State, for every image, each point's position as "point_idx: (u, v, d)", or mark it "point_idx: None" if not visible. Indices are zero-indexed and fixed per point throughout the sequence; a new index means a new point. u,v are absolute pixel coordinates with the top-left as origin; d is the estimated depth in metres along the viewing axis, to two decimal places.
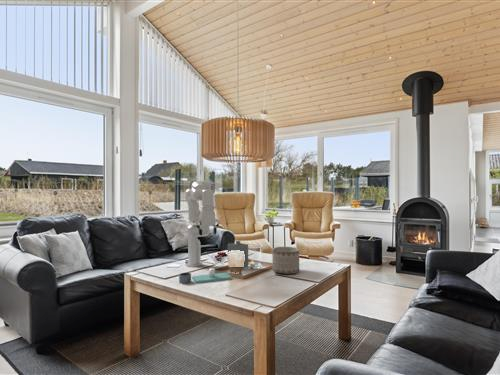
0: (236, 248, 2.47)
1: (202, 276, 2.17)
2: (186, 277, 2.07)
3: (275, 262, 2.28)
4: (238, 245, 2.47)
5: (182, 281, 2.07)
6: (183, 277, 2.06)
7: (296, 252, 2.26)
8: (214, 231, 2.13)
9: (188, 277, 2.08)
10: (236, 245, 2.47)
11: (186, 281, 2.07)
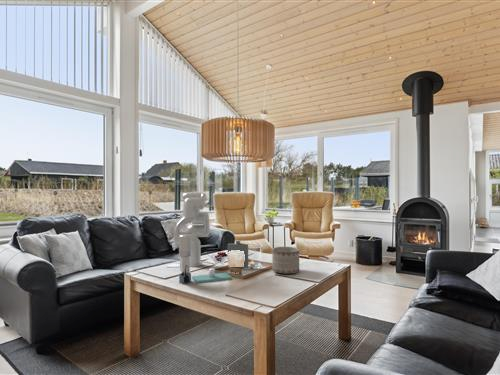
0: (236, 248, 2.47)
1: (202, 276, 2.17)
2: None
3: (275, 262, 2.28)
4: (238, 245, 2.47)
5: (182, 281, 2.07)
6: (183, 277, 2.06)
7: (296, 252, 2.26)
8: None
9: None
10: (236, 245, 2.47)
11: None
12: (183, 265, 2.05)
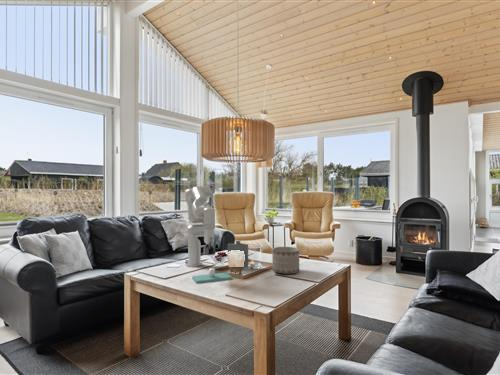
0: (236, 248, 2.47)
1: (202, 276, 2.17)
2: None
3: (275, 262, 2.28)
4: (238, 245, 2.47)
5: (207, 253, 2.12)
6: (208, 249, 2.12)
7: (296, 252, 2.26)
8: None
9: None
10: (236, 245, 2.47)
11: None
12: (208, 237, 2.11)
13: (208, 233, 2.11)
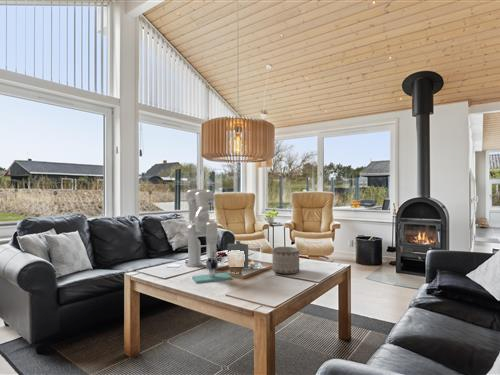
0: (236, 248, 2.47)
1: (202, 276, 2.17)
2: None
3: (275, 262, 2.28)
4: (238, 245, 2.47)
5: (209, 267, 2.13)
6: (210, 263, 2.13)
7: (296, 252, 2.26)
8: None
9: None
10: (236, 245, 2.47)
11: None
12: (211, 251, 2.11)
13: (211, 247, 2.12)
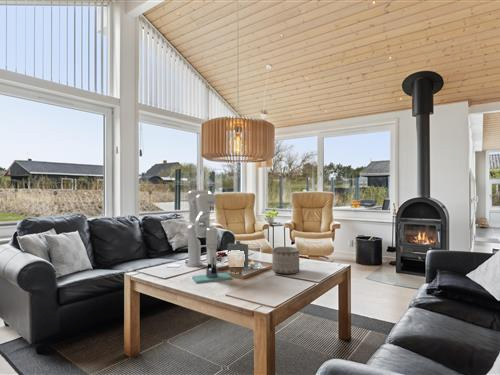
0: (236, 248, 2.47)
1: (202, 276, 2.17)
2: None
3: (275, 262, 2.28)
4: (238, 245, 2.47)
5: (209, 276, 2.13)
6: (210, 272, 2.13)
7: (296, 252, 2.26)
8: (210, 267, 2.21)
9: None
10: (236, 245, 2.47)
11: (213, 276, 2.13)
12: (211, 257, 2.11)
13: (211, 253, 2.12)
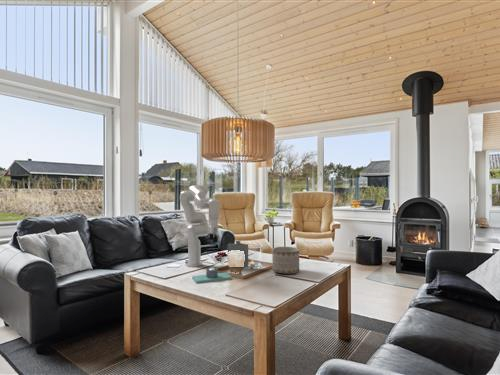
0: (236, 248, 2.47)
1: (202, 276, 2.17)
2: (213, 272, 2.13)
3: (275, 262, 2.28)
4: (238, 245, 2.47)
5: (209, 276, 2.13)
6: (210, 272, 2.13)
7: (296, 252, 2.26)
8: (212, 237, 2.32)
9: (215, 272, 2.14)
10: (236, 245, 2.47)
11: (213, 276, 2.13)
12: (212, 227, 2.22)
13: (212, 223, 2.22)
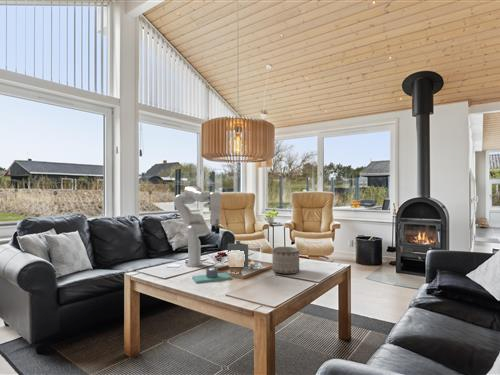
0: (236, 248, 2.47)
1: (202, 276, 2.17)
2: (213, 272, 2.13)
3: (275, 262, 2.28)
4: (238, 245, 2.47)
5: (209, 276, 2.13)
6: (210, 272, 2.13)
7: (296, 252, 2.26)
8: (214, 229, 2.38)
9: (215, 272, 2.14)
10: (236, 245, 2.47)
11: (213, 276, 2.13)
12: (214, 218, 2.29)
13: (214, 215, 2.29)
